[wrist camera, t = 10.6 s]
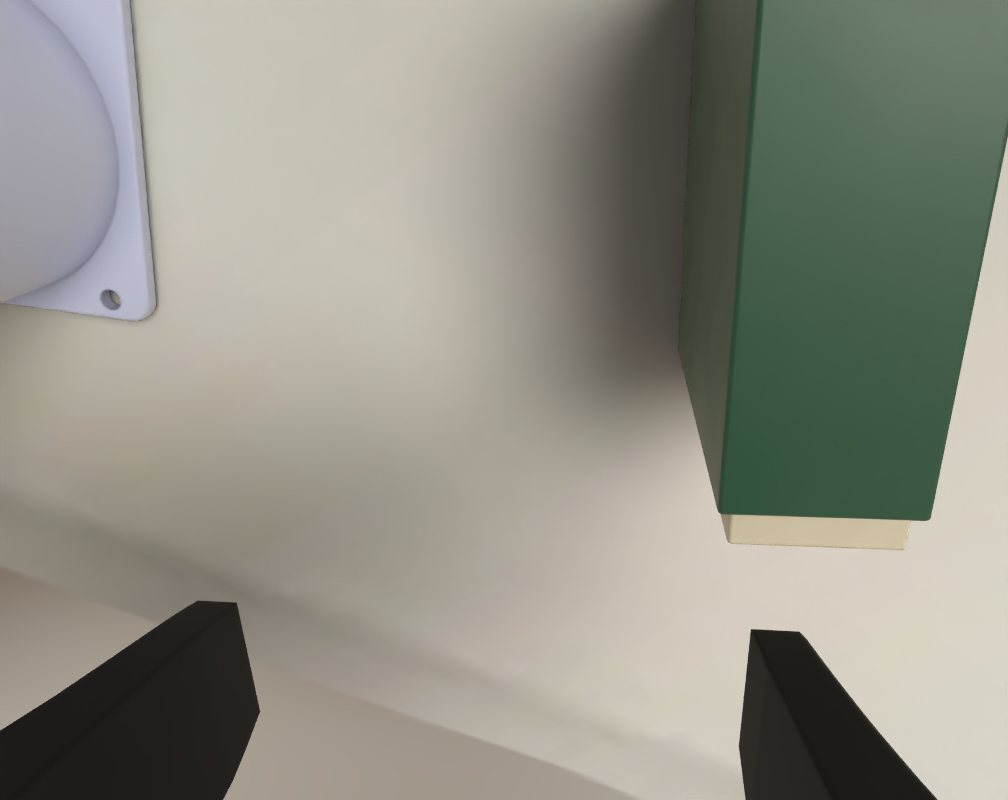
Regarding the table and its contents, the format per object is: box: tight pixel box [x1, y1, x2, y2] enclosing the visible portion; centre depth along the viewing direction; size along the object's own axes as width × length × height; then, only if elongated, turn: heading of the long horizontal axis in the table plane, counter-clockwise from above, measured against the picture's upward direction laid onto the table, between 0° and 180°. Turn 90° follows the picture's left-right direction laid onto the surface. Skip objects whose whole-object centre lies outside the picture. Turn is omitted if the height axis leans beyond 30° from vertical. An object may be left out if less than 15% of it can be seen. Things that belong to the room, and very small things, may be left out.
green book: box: [678, 0, 1008, 550], centre depth 13 cm, size 3×9×8 cm, turn 2°
